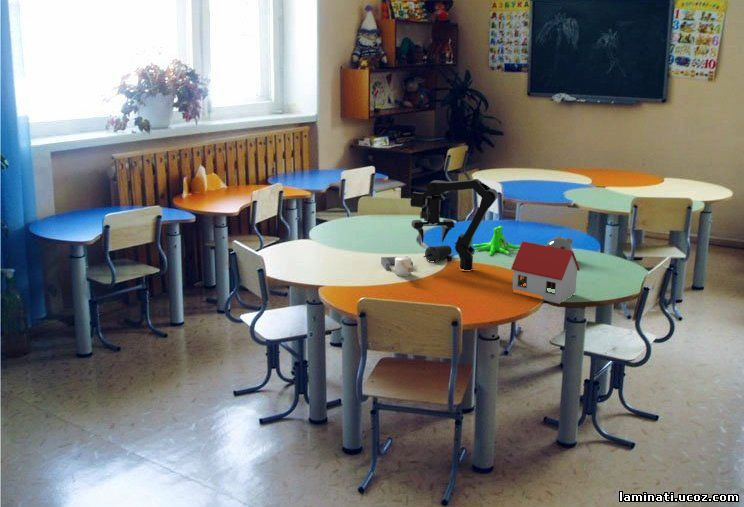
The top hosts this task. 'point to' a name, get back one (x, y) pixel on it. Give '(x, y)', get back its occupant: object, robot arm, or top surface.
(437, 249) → the drinking cup
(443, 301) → the top surface
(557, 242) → the piggy bank
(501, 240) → the toy octopus
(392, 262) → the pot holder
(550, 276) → the house model
